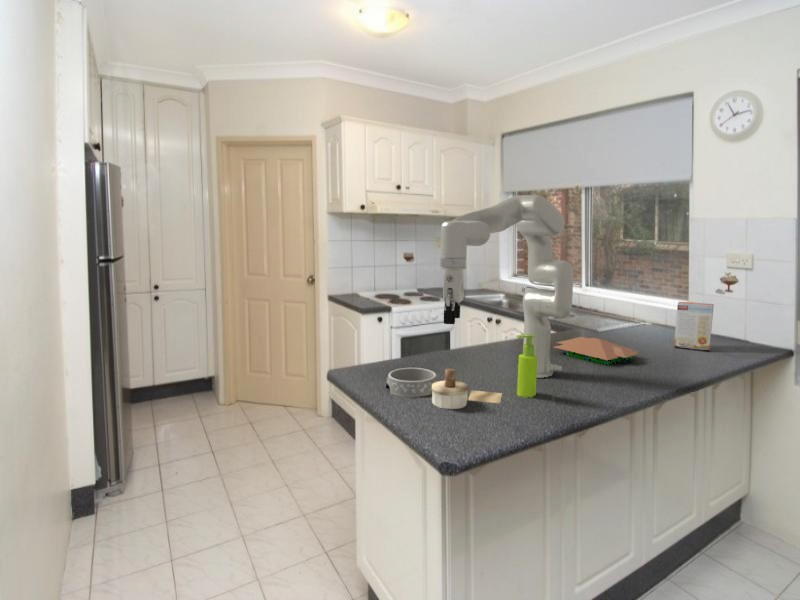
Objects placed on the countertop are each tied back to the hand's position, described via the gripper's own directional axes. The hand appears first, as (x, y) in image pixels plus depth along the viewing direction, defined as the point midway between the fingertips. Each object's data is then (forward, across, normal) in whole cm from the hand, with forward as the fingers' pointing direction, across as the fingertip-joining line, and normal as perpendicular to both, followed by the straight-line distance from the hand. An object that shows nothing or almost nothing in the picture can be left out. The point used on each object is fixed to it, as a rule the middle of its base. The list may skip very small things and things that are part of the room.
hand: (452, 320), depth 154 cm
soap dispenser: (+26, +15, -22) cm, 37 cm away
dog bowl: (+26, +11, +15) cm, 32 cm away
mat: (+26, +9, -10) cm, 29 cm away
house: (+27, +76, -48) cm, 94 cm away
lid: (+21, 0, 0) cm, 21 cm away
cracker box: (+27, +104, -93) cm, 142 cm away
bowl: (+26, 0, 0) cm, 26 cm away
